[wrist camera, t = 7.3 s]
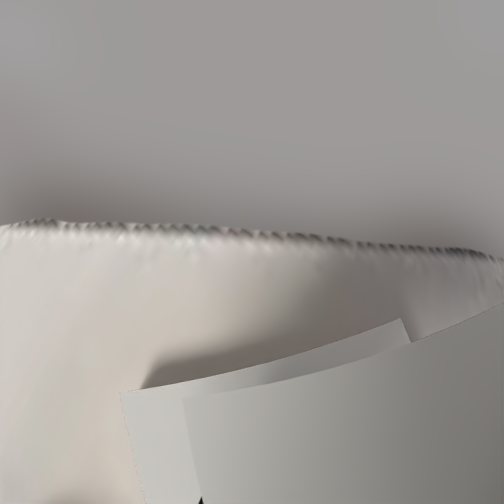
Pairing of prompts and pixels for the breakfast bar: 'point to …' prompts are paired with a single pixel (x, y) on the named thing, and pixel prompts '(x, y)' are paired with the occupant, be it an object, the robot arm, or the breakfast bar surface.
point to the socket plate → (170, 396)
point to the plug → (364, 428)
